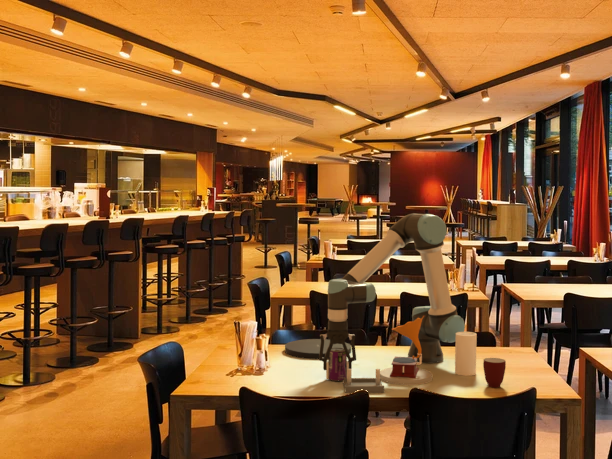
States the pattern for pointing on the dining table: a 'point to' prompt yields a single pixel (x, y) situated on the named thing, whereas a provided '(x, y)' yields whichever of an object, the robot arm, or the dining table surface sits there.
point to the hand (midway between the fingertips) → (337, 378)
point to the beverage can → (337, 364)
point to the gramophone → (407, 360)
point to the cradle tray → (363, 383)
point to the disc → (310, 348)
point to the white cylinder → (465, 353)
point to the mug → (494, 371)
